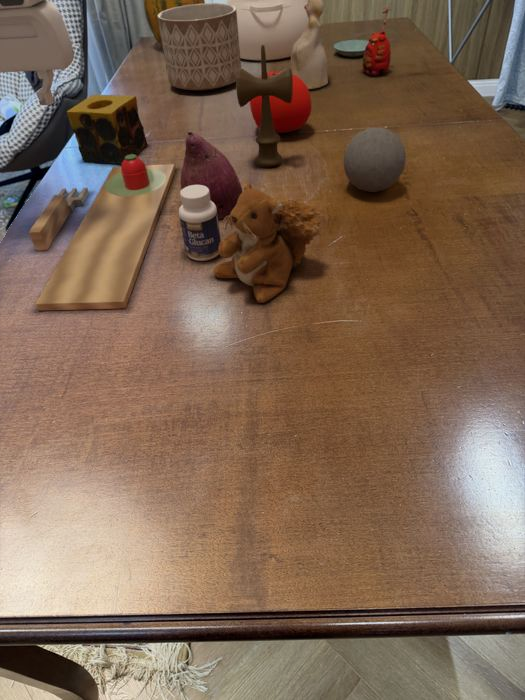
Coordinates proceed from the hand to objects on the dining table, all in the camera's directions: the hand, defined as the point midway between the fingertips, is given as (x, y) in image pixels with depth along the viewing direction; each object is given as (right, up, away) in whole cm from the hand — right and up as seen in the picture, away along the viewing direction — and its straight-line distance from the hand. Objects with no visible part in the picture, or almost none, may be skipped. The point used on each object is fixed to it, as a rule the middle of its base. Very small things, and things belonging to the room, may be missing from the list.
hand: (15, 105), depth 72 cm
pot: (+37, +56, +82) cm, 106 cm away
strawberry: (+13, -5, +18) cm, 23 cm away
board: (+12, -15, +10) cm, 22 cm away
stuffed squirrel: (+37, -25, -2) cm, 44 cm away
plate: (+13, -5, +20) cm, 24 cm away
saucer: (+62, +51, +74) cm, 110 cm away
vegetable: (+27, -11, +13) cm, 32 cm away
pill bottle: (+27, -21, +3) cm, 34 cm away
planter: (+20, +36, +62) cm, 74 cm away
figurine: (+47, +33, +57) cm, 82 cm away
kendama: (+37, 0, +24) cm, 44 cm away
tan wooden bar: (+1, -13, +13) cm, 19 cm away
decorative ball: (+54, -7, +14) cm, 57 cm away
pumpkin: (+9, +64, +92) cm, 113 cm away
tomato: (+39, +12, +36) cm, 54 cm away
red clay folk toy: (+65, +38, +61) cm, 97 cm away
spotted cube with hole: (+5, +5, +32) cm, 33 cm away
